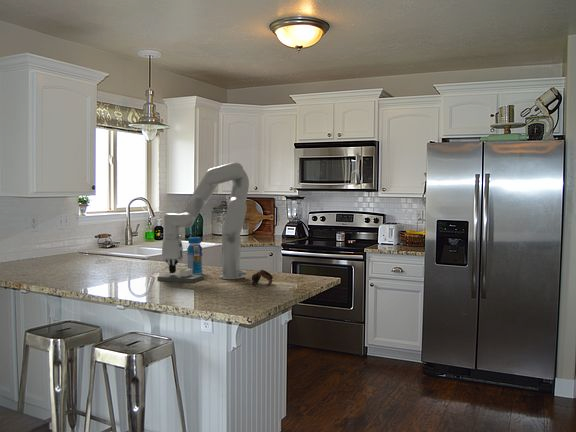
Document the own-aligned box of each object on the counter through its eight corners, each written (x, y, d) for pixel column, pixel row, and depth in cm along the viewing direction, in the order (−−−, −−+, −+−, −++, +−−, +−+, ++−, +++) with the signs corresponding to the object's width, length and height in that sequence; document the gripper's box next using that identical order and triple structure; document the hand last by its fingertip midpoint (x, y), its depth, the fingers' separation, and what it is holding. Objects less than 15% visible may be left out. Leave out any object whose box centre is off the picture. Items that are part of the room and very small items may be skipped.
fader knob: (192, 274, 268) (192, 267, 267) (186, 276, 262) (186, 269, 262) (185, 274, 269) (185, 267, 269) (179, 276, 263) (179, 269, 263)
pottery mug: (256, 283, 260) (265, 269, 259) (269, 293, 255) (278, 279, 255) (243, 280, 250) (252, 266, 249) (256, 291, 245) (265, 276, 244)
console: (203, 278, 269) (203, 274, 269) (192, 282, 258) (192, 278, 258) (169, 276, 275) (169, 272, 275) (157, 280, 264) (157, 276, 264)
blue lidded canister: (184, 274, 282) (184, 237, 281) (191, 272, 290) (190, 236, 289) (199, 275, 280) (198, 238, 279) (205, 272, 288) (204, 236, 287)
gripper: (188, 237, 268) (189, 272, 269) (163, 236, 272) (163, 270, 274) (181, 238, 261) (181, 274, 262) (155, 237, 265) (155, 273, 266)
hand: (172, 272), depth 268 cm, fingers closed
